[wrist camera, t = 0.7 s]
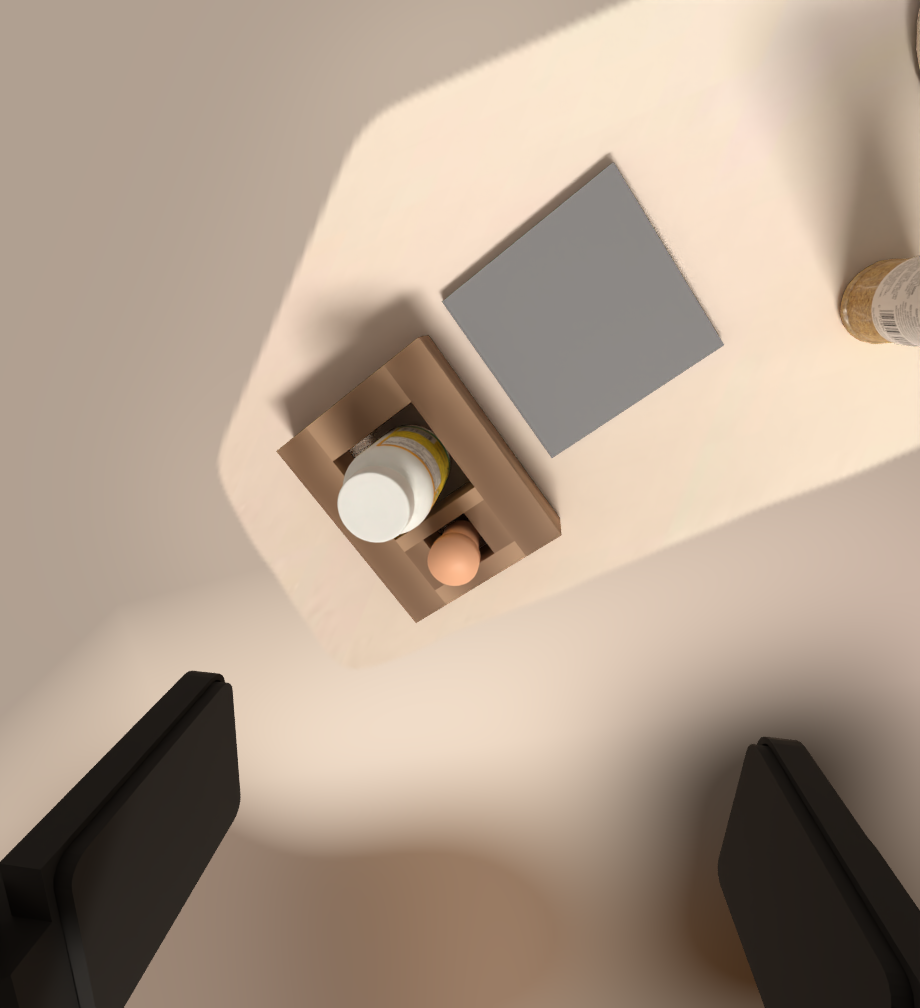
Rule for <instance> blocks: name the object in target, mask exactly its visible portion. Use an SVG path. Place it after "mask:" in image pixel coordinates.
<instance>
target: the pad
mask: <svg viewBox="0 0 920 1008" xmlns="http://www.w3.org/2000/svg"><path fill="white" fill-rule="evenodd" d="M442 302H443V304H444V305H445V307H446V308H447V310H448V311H449V312H450V314H451V315H452V317H453V318H454V320H455V321H456V322H457V324H458V325H459V327H460V328H461V329H462V331H463V332H464V334H465V335H466V337H467V338H468V339H469V341H470V342H471V344H472V345H473V347H474V348H475V349H476V351H477V352H478V354H479V355H480V357H481V358H482V359H483V361H484V362H485V364H486V365H487V366H488V368H489V369H490V371H491V372H492V374H493V375H494V376H495V378H496V379H497V381H498V382H499V384H500V385H501V386H502V388H503V389H504V391H505V392H506V393H507V395H508V396H509V398H510V399H511V401H512V402H513V403H514V405H515V406H516V408H517V409H518V411H519V412H520V413H521V415H522V416H523V418H524V419H525V421H526V422H527V423H528V425H529V426H530V428H531V429H532V430H533V432H534V433H535V435H536V436H537V438H538V439H539V440H540V442H541V443H542V445H543V446H544V448H545V449H546V450H547V452H548V453H549V455H550V456H551V458H553V457H555V456H556V455H558V454H559V453H561V452H562V451H564V450H565V449H567V448H568V447H570V446H571V445H573V444H574V443H576V442H577V441H579V440H580V439H582V438H584V437H585V436H587V435H588V434H590V433H591V432H593V431H594V430H596V429H597V428H599V427H600V426H602V425H603V424H605V423H606V422H608V421H609V420H611V419H612V418H614V417H615V416H617V415H619V414H620V413H622V412H623V411H625V410H626V409H628V408H629V407H631V406H632V405H634V404H635V403H637V402H638V401H640V400H641V399H643V398H644V397H646V396H647V395H649V394H650V393H652V392H653V391H655V390H657V389H658V388H660V387H661V386H663V385H664V384H666V383H667V382H669V381H670V380H672V379H673V378H675V377H676V376H678V375H679V374H681V373H682V372H684V371H685V370H687V369H688V368H690V367H692V366H693V365H695V364H696V363H698V362H699V361H701V360H702V359H704V358H705V357H707V356H708V355H710V354H711V353H713V352H714V351H716V350H717V349H719V348H720V347H722V346H723V345H724V344H723V342H722V341H721V339H720V337H719V336H718V334H717V332H716V331H715V329H714V327H713V326H712V324H711V322H710V321H709V319H708V317H707V316H706V314H705V312H704V311H703V309H702V307H701V306H700V304H699V303H698V301H697V299H696V298H695V296H694V294H693V293H692V291H691V289H690V288H689V286H688V284H687V283H686V281H685V279H684V278H683V276H682V274H681V273H680V271H679V269H678V268H677V266H676V264H675V263H674V261H673V259H672V258H671V256H670V255H669V253H668V251H667V250H666V248H665V246H664V245H663V243H662V241H661V240H660V238H659V236H658V235H657V233H656V231H655V230H654V228H653V226H652V225H651V223H650V221H649V220H648V218H647V216H646V215H645V213H644V212H643V210H642V208H641V207H640V205H639V203H638V202H637V200H636V198H635V197H634V195H633V193H632V192H631V190H630V188H629V187H628V185H627V183H626V182H625V180H624V178H623V177H622V175H621V173H620V172H619V170H618V169H617V167H616V165H615V164H614V162H613V163H611V164H610V165H609V166H608V167H607V168H605V169H604V170H603V171H602V172H600V173H599V174H598V175H597V176H596V177H594V178H593V179H592V180H591V181H589V182H588V183H587V184H586V185H584V186H583V187H582V188H581V189H580V190H578V191H577V192H576V193H575V194H573V195H572V196H571V197H570V198H569V199H567V200H566V201H565V202H564V203H562V204H561V205H560V206H559V207H557V208H556V209H555V210H554V211H553V212H551V213H550V214H549V215H548V216H546V217H545V218H544V219H543V220H542V221H540V222H539V223H538V224H537V225H535V226H534V227H533V228H532V229H530V230H529V231H528V232H527V233H526V234H524V235H523V236H522V237H521V238H519V239H518V240H517V241H516V242H515V243H513V244H512V245H511V246H510V247H508V248H507V249H506V250H505V251H503V252H502V253H501V254H500V255H499V256H497V257H496V258H495V259H494V260H492V261H491V262H490V263H489V264H488V265H486V266H485V267H484V268H483V269H481V270H480V271H479V272H478V273H476V274H475V275H474V276H473V277H472V278H470V279H469V280H468V281H467V282H465V283H464V284H463V285H462V286H461V287H459V288H458V289H457V290H456V291H454V292H453V293H452V294H451V295H449V296H448V297H447V298H446V299H445V300H443V301H442Z"/></svg>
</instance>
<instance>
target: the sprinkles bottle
mask: <svg viewBox="0 0 920 1008" xmlns="http://www.w3.org/2000/svg"><path fill="white" fill-rule="evenodd" d="M840 316H841V319H842V322H843V325H844V326H845V327H846V329H847V331H848V332H849V333H850V334H851V335H852V336H854V337H855V338H856V339H858V340H860V341H863V342H868V343H871V344H882V343H894V344H897V345H903V346H912V347H920V256H916V257H914V258H908V259H889V260H882V261H878V262H876V263H874V264H873V265H871V266H869V267H867V268H865V269H864V270H863V271H861V272H860V273H859V274H857V275H856V276H855V277H854V279H853V280H852V281H851V282H850V283H849V284H848V287H847V288H846V290H845V292H844V295H843V299H842V301H841V309H840Z"/></svg>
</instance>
